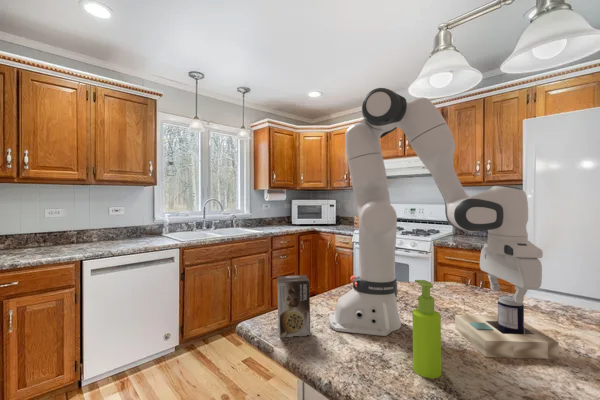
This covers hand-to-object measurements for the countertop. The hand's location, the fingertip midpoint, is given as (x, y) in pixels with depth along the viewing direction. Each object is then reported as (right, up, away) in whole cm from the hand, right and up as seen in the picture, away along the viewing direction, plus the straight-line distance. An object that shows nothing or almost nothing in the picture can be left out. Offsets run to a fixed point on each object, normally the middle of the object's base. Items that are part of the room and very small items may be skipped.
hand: (505, 296), depth 78 cm
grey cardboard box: (-58, -13, +7) cm, 60 cm away
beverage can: (+1, -13, 0) cm, 13 cm away
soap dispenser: (-27, -13, -12) cm, 33 cm away
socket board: (-1, -12, 0) cm, 13 cm away
